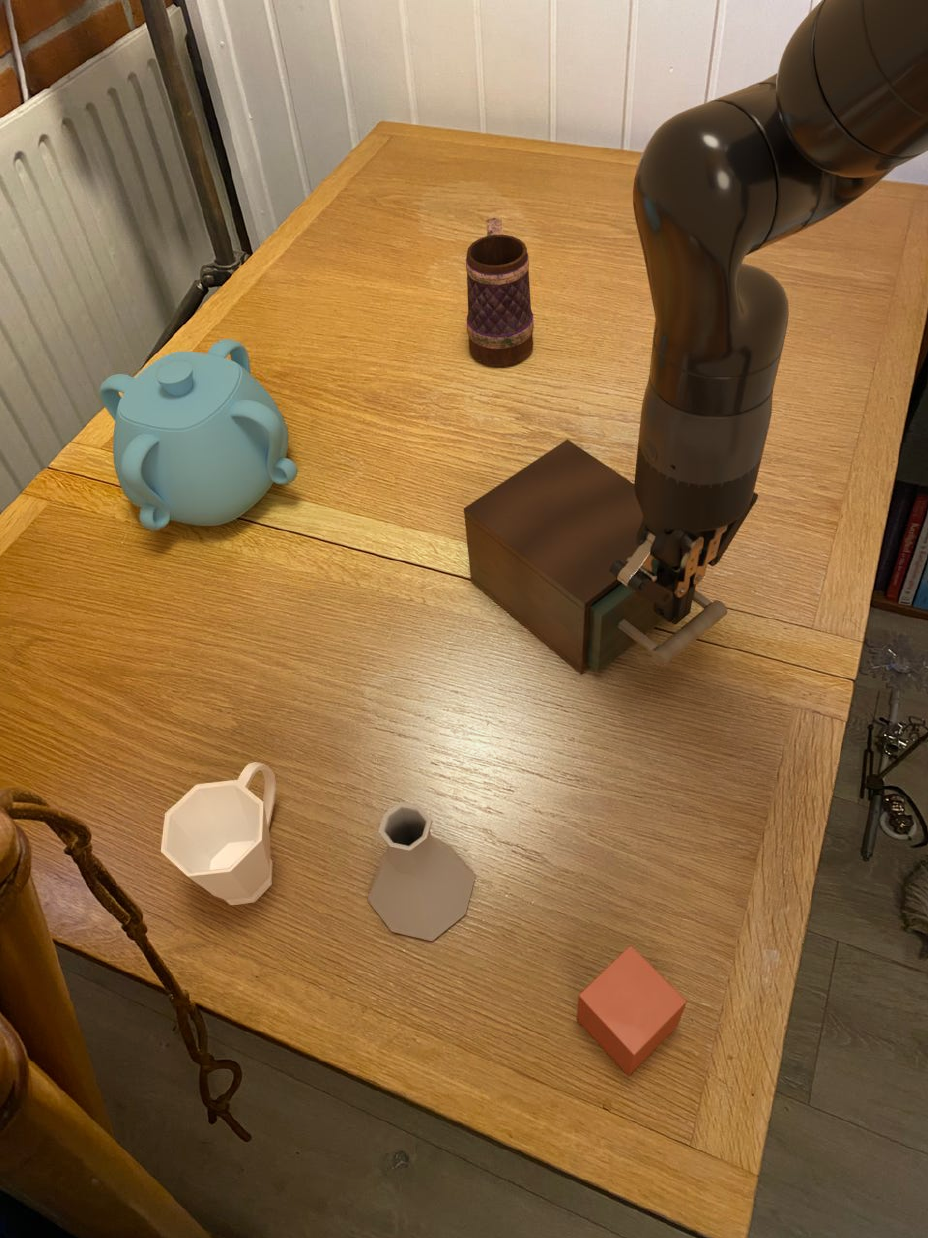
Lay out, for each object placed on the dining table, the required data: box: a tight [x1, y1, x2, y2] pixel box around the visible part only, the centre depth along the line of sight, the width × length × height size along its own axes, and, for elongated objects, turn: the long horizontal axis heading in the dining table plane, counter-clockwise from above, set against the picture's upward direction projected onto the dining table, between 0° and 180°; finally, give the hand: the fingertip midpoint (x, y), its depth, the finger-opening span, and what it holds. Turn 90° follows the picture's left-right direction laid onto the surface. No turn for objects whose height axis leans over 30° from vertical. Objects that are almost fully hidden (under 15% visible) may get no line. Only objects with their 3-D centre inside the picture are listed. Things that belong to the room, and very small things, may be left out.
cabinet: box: [463, 438, 643, 675], centre depth 78 cm, size 14×12×9 cm
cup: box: [160, 761, 277, 906], centre depth 66 cm, size 7×10×8 cm
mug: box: [465, 217, 535, 367], centre depth 100 cm, size 10×7×12 cm
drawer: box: [588, 562, 728, 673], centre depth 76 cm, size 17×10×7 cm, turn 41°
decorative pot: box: [98, 338, 298, 531], centre depth 88 cm, size 16×16×14 cm
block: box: [576, 944, 688, 1077], centre depth 58 cm, size 4×4×5 cm
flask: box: [367, 801, 476, 942], centre depth 63 cm, size 7×7×10 cm
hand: (672, 612), depth 72 cm, fingers closed
